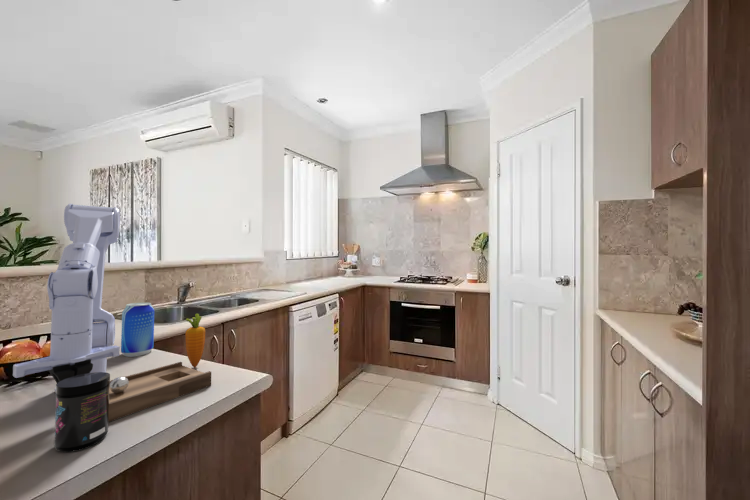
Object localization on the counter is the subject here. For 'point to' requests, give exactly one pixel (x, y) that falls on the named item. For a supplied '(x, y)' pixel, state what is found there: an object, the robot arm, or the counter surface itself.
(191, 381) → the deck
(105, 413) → the supplement container
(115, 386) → the ball
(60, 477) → the counter surface
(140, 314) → the beer can
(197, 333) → the carrot
